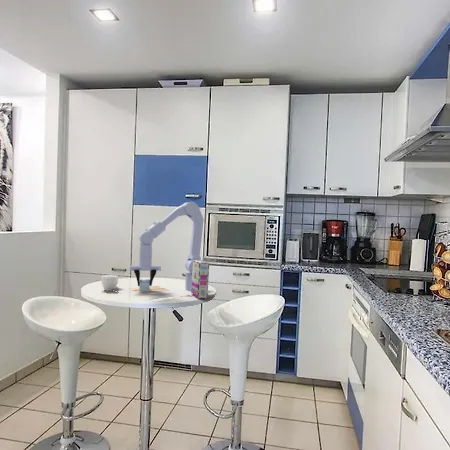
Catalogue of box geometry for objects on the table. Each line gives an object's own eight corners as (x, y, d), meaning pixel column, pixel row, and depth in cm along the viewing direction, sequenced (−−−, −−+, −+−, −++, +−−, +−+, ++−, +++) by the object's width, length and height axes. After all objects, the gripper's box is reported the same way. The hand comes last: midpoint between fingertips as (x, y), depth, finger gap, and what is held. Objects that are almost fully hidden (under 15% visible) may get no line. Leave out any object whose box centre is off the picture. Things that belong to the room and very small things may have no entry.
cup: (98, 290, 186) (98, 276, 186) (107, 287, 196) (107, 273, 196) (114, 291, 185) (114, 277, 185) (122, 288, 195) (122, 274, 195)
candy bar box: (208, 298, 177) (209, 262, 177) (197, 299, 175) (199, 262, 175) (200, 294, 188) (202, 259, 187) (190, 294, 186) (192, 259, 186)
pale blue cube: (149, 289, 189) (149, 279, 189) (149, 291, 184) (149, 280, 184) (139, 289, 188) (140, 278, 188) (139, 291, 184) (139, 280, 184)
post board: (169, 292, 189) (170, 290, 189) (139, 295, 179) (139, 293, 179) (158, 288, 199) (158, 286, 199) (128, 290, 189) (128, 288, 189)
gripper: (130, 257, 180) (129, 287, 180) (162, 258, 184) (161, 286, 185) (129, 256, 187) (128, 284, 187) (160, 256, 191) (159, 284, 191)
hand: (144, 285), depth 186 cm, fingers closed on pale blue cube, 5 cm apart
